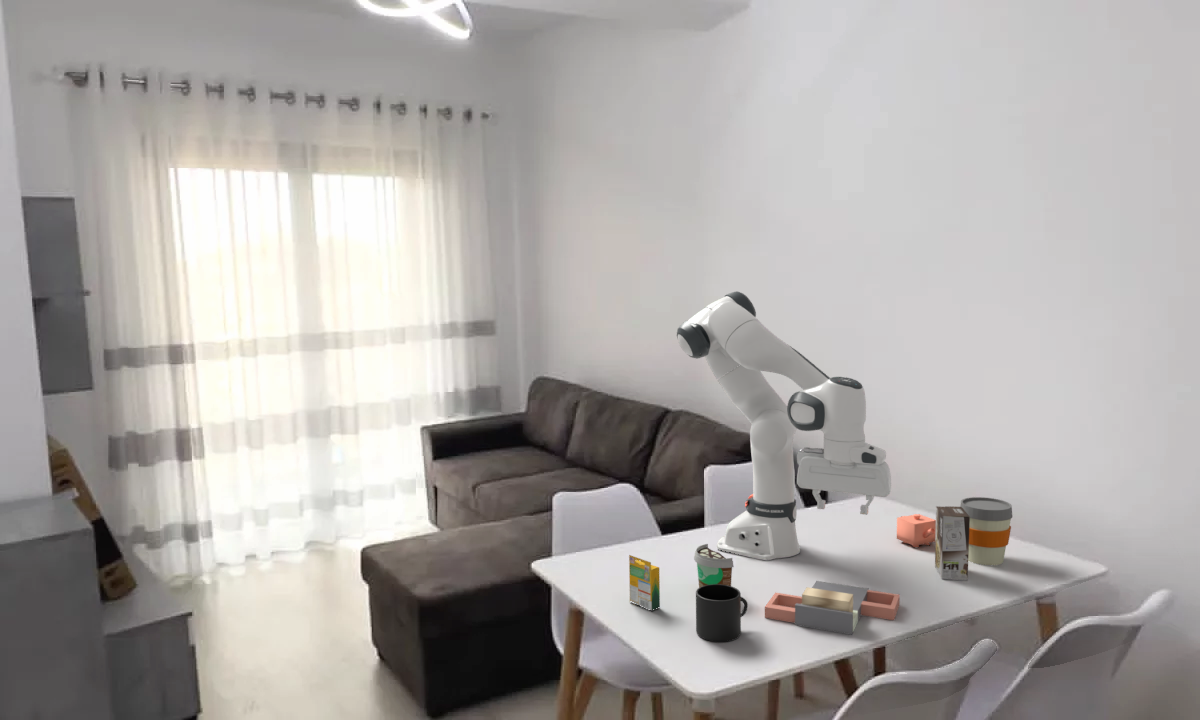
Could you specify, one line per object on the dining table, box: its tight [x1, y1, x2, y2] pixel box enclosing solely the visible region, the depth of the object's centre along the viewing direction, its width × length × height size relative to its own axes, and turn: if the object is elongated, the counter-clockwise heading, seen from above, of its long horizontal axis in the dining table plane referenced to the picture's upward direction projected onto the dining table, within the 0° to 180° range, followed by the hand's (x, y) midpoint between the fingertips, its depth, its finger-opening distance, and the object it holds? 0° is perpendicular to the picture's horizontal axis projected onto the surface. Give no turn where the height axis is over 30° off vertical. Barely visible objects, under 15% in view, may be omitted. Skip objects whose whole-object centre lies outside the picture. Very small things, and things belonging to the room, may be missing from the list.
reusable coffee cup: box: [959, 496, 1013, 566], centre depth 219 cm, size 13×12×15 cm
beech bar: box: [801, 587, 853, 612], centre depth 183 cm, size 10×4×4 cm, turn 63°
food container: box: [693, 543, 734, 588], centre depth 201 cm, size 12×6×10 cm, turn 23°
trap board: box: [764, 580, 901, 636], centre depth 189 cm, size 26×21×4 cm
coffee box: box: [934, 505, 970, 581], centre depth 210 cm, size 9×6×16 cm
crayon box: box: [628, 554, 661, 610], centre depth 194 cm, size 7×3×12 cm, turn 42°
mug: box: [695, 584, 749, 643], centre depth 180 cm, size 9×12×9 cm
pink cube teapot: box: [896, 513, 936, 548], centre depth 232 cm, size 8×12×8 cm, turn 22°
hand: (842, 511), depth 189 cm, fingers open, 8 cm apart
